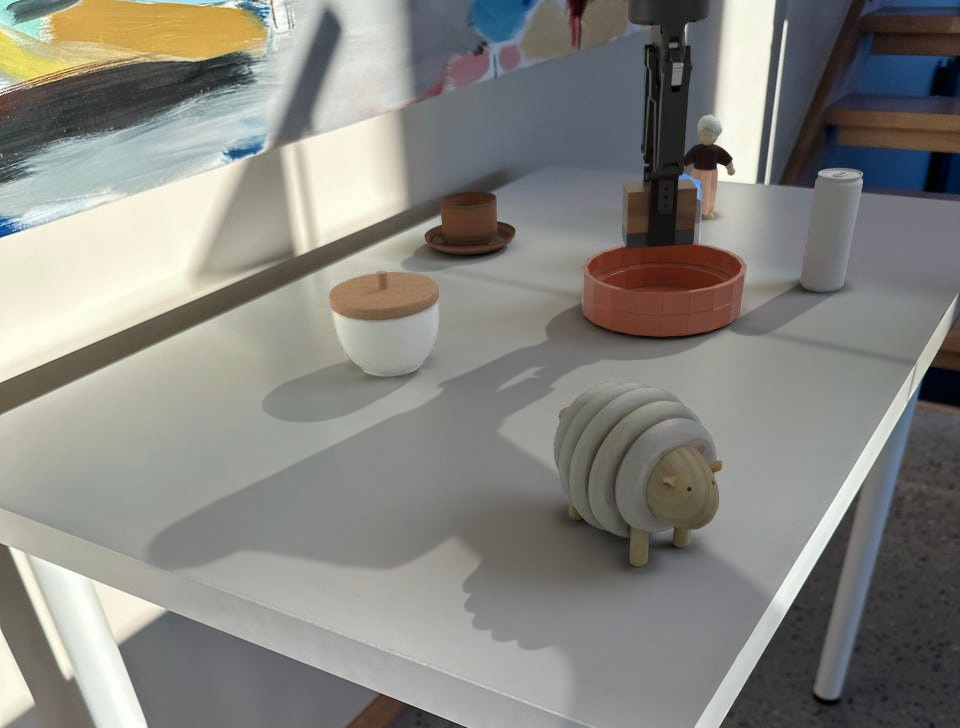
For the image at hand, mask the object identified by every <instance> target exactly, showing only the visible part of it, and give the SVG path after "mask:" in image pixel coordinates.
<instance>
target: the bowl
mask: <svg viewBox="0 0 960 728" xmlns="http://www.w3.org/2000/svg"><path fill="white" fill-rule="evenodd" d="M747 270H748V265H747V263H746V262H745V260H744V258H742V257H741V256H740V255H738V254H736V253H734V252H732V251H731V250H727V249H725V248H721V247H717V246H713V245H710V244H703V243H700V244H697V243H694V244H691V245H676V246H661V247H646V248H631V249H627V248H626V246H625V244H622V245H617V246H614V247H611V248H607V249H604V250H600V251H599V252H597V253H595V254H593V255H591V256H589V257H588V258H586V260H585V262H584V263H583V265H582V266H581V310H582V314H583V316H584V317H585V318H586V319H588V320H589V321H590V322H591V323H592V324H594V325H597V326H599V327H602V328H604V329H607V330H609V331H613V332H618V333H623V334H626V335H627V334H628V335H633V336H644V337H645V336H646V337H662V338H663V337H680V336H690V335H691V336H692V335H695V334H700V333H706V332H710V331H713V330H717V329H719V328H722V327H724V326H727V325H729V324H731V323H732V322H734V321H735V320H736V319H737V318H738V317H740V315H741V314H742V313H741V312H742V309H743V306H744V305H743V304H744V296H745V287H746V277H747Z"/></svg>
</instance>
